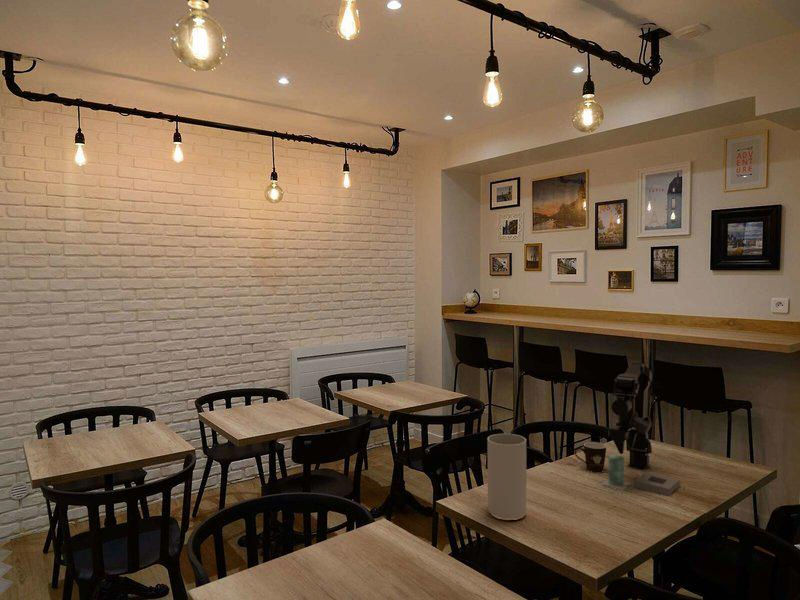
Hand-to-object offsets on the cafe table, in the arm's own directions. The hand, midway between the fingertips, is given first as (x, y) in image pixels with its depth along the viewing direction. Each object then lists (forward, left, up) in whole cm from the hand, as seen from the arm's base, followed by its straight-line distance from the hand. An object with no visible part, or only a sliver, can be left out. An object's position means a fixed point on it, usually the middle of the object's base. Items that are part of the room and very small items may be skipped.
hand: (626, 450), depth 206 cm
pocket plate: (+10, +4, -13) cm, 16 cm away
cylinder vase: (-19, -52, -13) cm, 57 cm away
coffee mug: (-16, +6, -13) cm, 22 cm away
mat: (-2, -4, -13) cm, 13 cm away
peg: (-2, -4, -12) cm, 13 cm away
